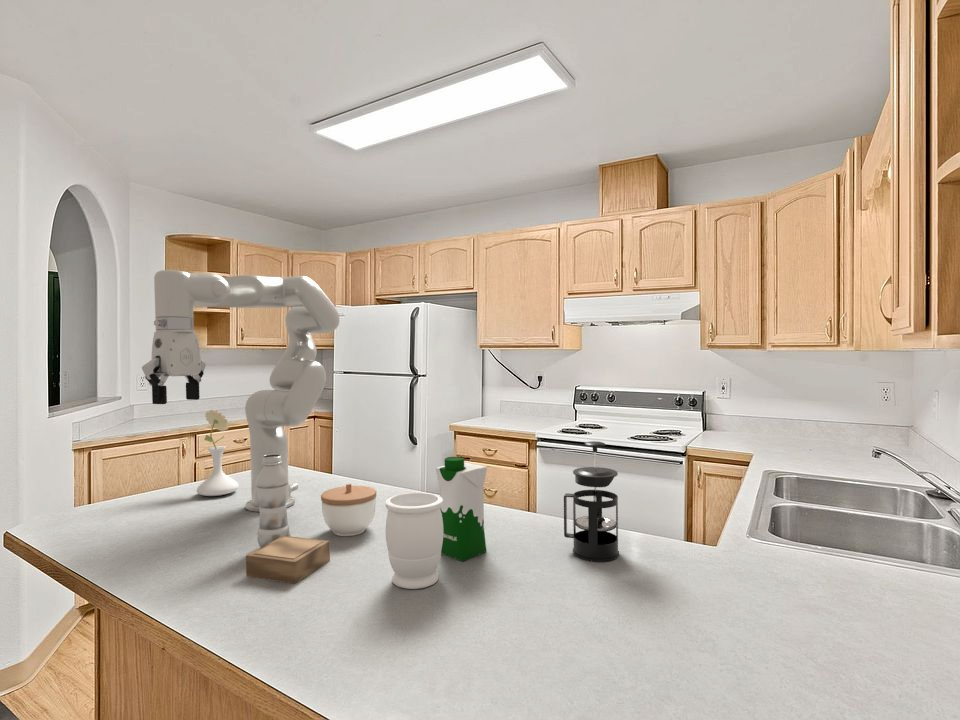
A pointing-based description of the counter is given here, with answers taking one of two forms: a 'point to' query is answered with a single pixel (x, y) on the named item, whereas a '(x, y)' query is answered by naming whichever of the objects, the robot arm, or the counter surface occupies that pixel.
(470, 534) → the milk carton
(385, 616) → the counter surface
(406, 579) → the jar
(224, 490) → the flower in vase
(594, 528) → the french press
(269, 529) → the plastic bottle
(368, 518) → the lidded bowl
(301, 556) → the base slab
